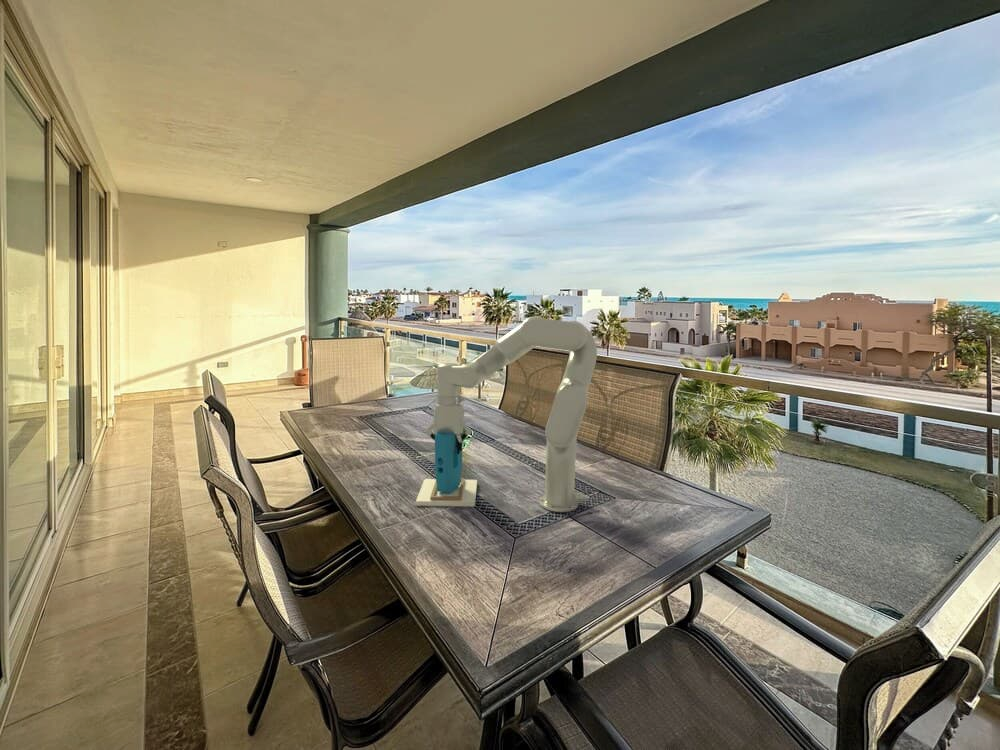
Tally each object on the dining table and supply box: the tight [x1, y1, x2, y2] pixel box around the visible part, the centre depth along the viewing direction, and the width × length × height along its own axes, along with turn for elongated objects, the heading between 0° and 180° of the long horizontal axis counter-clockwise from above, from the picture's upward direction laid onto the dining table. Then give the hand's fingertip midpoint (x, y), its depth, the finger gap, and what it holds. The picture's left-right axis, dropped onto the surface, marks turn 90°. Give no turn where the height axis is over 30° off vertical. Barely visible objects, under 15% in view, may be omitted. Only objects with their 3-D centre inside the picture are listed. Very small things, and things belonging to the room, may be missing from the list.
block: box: [434, 433, 463, 493], centre depth 156 cm, size 12×5×20 cm, turn 159°
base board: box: [415, 477, 478, 507], centre depth 157 cm, size 19×19×2 cm
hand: (448, 452), depth 155 cm, fingers closed on block, 5 cm apart
